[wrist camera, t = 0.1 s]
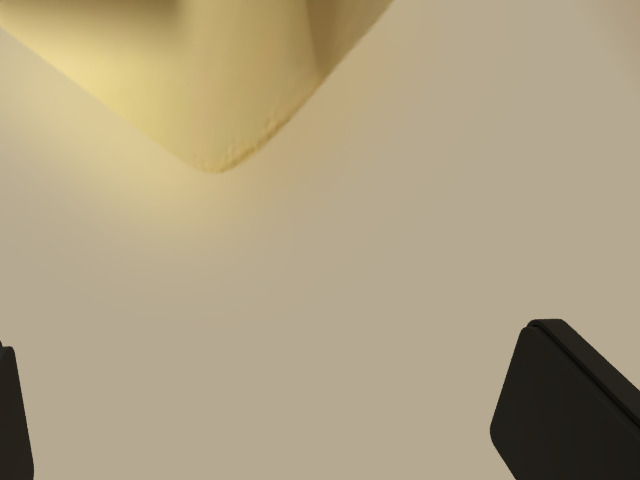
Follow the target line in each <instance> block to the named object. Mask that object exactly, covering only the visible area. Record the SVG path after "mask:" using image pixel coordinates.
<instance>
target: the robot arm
mask: <svg viewBox="0 0 640 480" xmlns="http://www.w3.org/2000/svg"><path fill="white" fill-rule="evenodd" d="M490 435H491V439H492V442H493V444H494V446H495V448H496V449H497V451H498V453H499V454H500V456H501V457H502V459H503V460H504V462H505V463H506V465H507V466H508V468H509V470H510V471H511V473H512V474H513V476H514V478H515V479H516V480H640V391H639V390H638V389H637V388H636V387H635V386H634V385H633V384H632V383H631V382H630V381H628V380H627V379H626V378H625V377H624V376H623V375H622V374H621V373H620V372H619V371H618V370H617V369H616V368H614V367H613V366H612V365H611V364H610V363H609V362H608V361H607V360H606V359H605V358H604V357H603V356H602V355H601V354H599V353H598V352H597V351H596V350H595V349H594V348H593V347H592V346H591V345H590V344H589V343H587V341H585V340H584V339H583V338H582V337H581V336H580V335H579V334H578V333H577V332H576V331H575V330H574V329H572V328H571V327H570V326H569V325H568V324H567V323H566V322H565V321H563V320H562V319H535V320H532V321H530V322H529V323H528V325H527V327H525V328H523V329H522V330H521V332H520V335H519V337H518V341H517V344H516V347H515V350H514V353H513V356H512V359H511V362H510V366H509V369H508V372H507V375H506V378H505V382H504V384H503V388H502V391H501V394H500V397H499V400H498V403H497V406H496V409H495V413H494V416H493V419H492V422H491V426H490ZM33 477H34V464H33V458H32V452H31V446H30V440H29V434H28V428H27V422H26V416H25V411H24V404H23V399H22V393H21V387H20V381H19V375H18V369H17V363H16V357H15V352H14V350H13V348H12V347H10V346H8V347H2V343H1V341H0V480H33Z"/></svg>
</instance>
